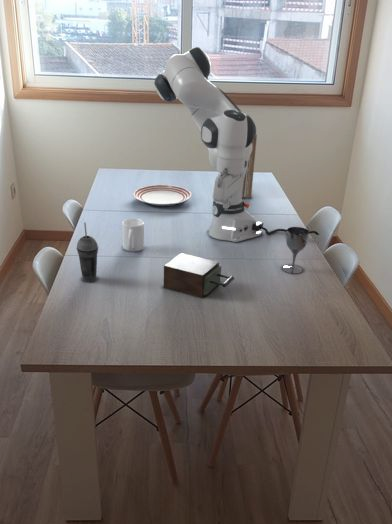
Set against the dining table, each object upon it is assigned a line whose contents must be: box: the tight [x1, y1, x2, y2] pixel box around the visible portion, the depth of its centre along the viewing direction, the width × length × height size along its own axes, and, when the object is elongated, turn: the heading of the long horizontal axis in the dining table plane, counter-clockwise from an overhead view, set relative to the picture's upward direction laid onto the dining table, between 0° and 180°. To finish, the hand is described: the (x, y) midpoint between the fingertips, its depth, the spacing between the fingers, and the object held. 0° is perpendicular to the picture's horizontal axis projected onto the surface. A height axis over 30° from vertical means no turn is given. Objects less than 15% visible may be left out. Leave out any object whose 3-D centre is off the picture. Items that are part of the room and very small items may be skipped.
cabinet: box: [163, 252, 220, 298], centre depth 198 cm, size 15×13×8 cm
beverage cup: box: [76, 222, 99, 283], centre depth 196 cm, size 7×7×20 cm
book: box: [242, 133, 258, 200], centre depth 286 cm, size 25×9×30 cm, turn 4°
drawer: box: [203, 264, 235, 296], centre depth 197 cm, size 19×11×6 cm, turn 64°
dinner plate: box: [133, 184, 192, 207], centre depth 276 cm, size 28×27×3 cm
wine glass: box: [282, 226, 310, 274], centre depth 211 cm, size 8×8×15 cm
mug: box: [121, 218, 145, 253], centre depth 222 cm, size 12×8×10 cm
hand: (226, 207), depth 194 cm, fingers closed
